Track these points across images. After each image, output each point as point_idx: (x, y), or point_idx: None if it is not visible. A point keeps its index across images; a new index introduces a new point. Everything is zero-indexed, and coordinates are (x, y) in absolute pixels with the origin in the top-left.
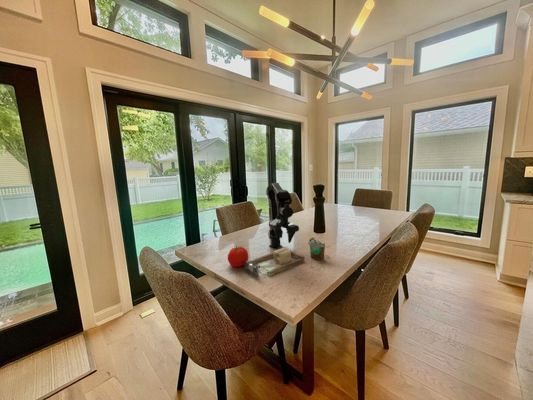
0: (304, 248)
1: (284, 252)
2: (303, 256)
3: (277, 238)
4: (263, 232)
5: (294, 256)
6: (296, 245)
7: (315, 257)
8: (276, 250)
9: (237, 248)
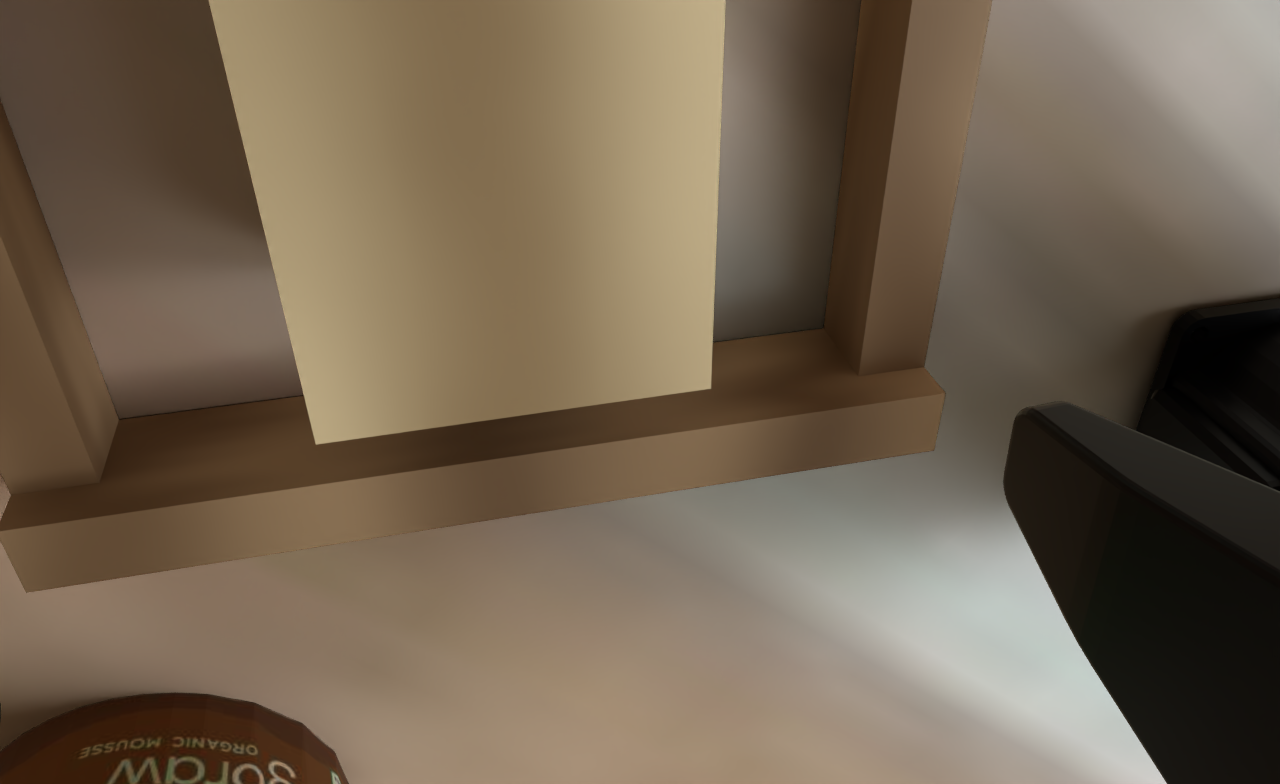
0: (681, 769)
1: (291, 151)
2: (37, 575)
3: (1036, 412)
4: None
5: None
6: (900, 723)
7: (42, 756)
8: (713, 1)
9: None
